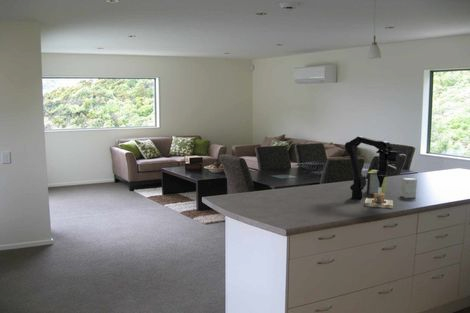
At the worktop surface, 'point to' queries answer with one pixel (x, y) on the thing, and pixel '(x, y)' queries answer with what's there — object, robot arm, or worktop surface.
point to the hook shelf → (384, 205)
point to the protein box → (374, 183)
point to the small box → (408, 188)
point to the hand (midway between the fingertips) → (381, 184)
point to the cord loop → (379, 195)
